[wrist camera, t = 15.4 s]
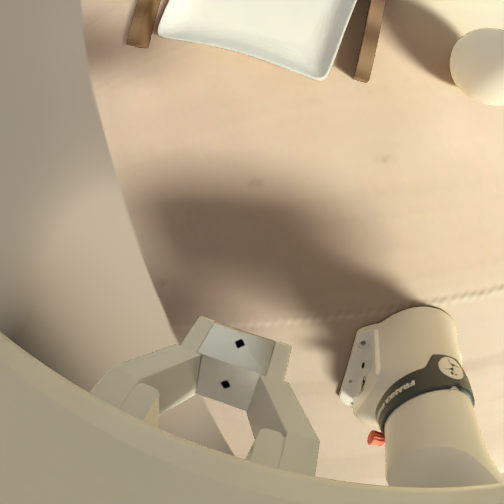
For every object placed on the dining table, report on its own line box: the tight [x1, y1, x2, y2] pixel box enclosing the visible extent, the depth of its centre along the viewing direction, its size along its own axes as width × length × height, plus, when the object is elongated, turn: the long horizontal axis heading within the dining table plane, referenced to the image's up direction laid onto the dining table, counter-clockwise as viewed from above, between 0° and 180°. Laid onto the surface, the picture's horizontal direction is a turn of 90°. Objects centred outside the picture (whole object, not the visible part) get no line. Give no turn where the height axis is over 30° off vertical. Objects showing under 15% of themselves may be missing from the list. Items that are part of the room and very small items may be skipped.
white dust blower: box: [450, 28, 504, 105], centre depth 18 cm, size 8×8×18 cm
